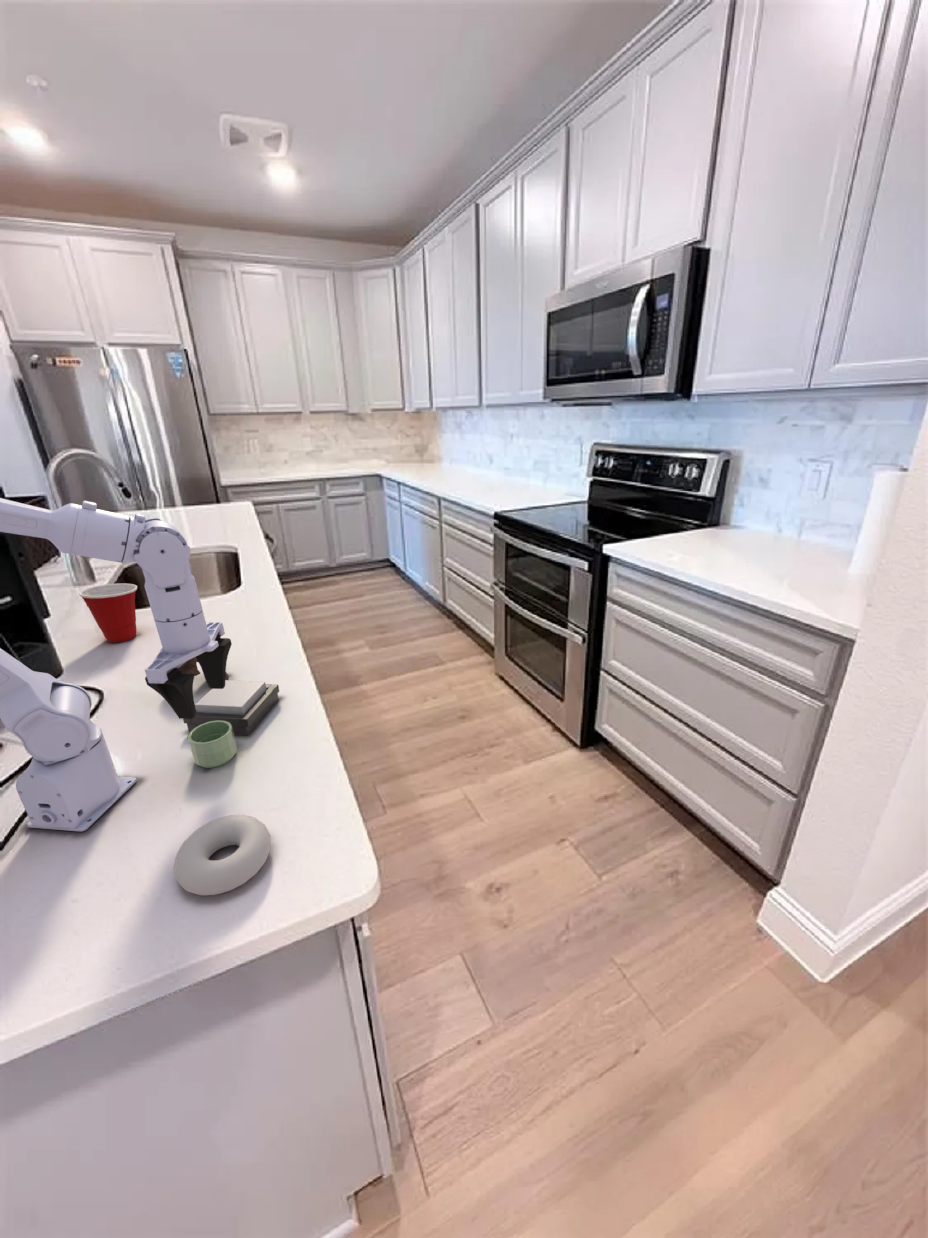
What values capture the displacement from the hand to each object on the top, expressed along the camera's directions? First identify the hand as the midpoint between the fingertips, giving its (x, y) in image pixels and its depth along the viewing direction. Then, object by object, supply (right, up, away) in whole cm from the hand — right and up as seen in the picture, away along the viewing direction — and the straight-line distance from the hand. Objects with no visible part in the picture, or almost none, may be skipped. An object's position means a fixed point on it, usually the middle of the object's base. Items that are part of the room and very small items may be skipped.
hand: (203, 701), depth 72 cm
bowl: (0, -9, +3) cm, 10 cm away
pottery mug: (-12, 0, +24) cm, 27 cm away
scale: (-2, -4, +14) cm, 15 cm away
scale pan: (-2, -2, +13) cm, 13 cm away
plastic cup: (-41, +7, +44) cm, 61 cm away
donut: (+10, -16, -14) cm, 24 cm away
